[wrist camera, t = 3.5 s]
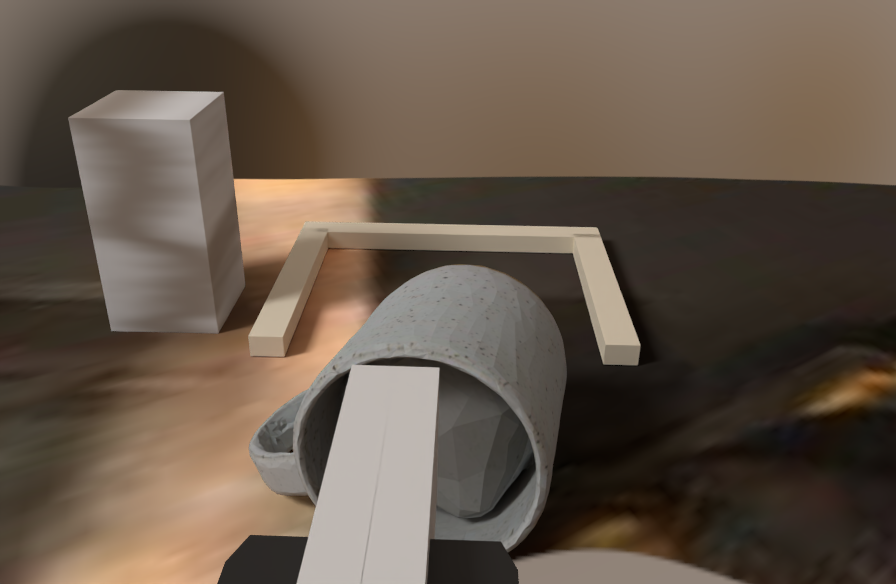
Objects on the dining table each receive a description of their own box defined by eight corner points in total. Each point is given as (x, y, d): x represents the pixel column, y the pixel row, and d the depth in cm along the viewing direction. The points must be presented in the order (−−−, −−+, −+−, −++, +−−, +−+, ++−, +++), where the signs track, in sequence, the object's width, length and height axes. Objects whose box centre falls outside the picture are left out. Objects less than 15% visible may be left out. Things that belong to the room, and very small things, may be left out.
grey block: (245, 285, 42) (223, 92, 37) (218, 333, 37) (189, 120, 33) (150, 283, 42) (116, 90, 37) (111, 330, 37) (68, 117, 33)
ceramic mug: (565, 431, 31) (578, 246, 28) (542, 593, 24) (555, 371, 20) (304, 399, 33) (286, 224, 30) (211, 540, 26) (173, 330, 22)
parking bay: (595, 243, 47) (597, 227, 47) (637, 365, 35) (640, 345, 35) (306, 237, 48) (305, 221, 47) (250, 356, 36) (248, 336, 35)
